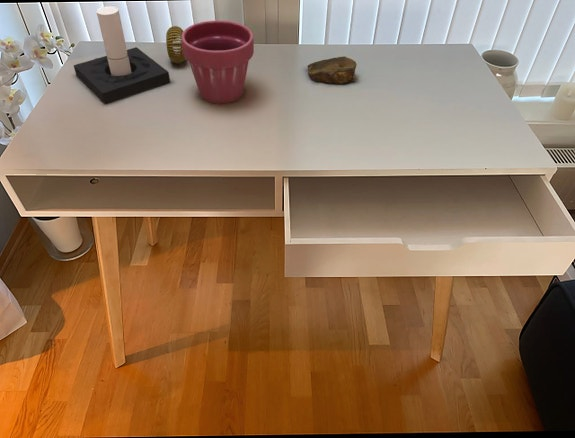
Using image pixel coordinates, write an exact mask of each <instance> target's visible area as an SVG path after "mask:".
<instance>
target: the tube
mask: <svg viewBox="0 0 575 438" xmlns="http://www.w3.org/2000/svg"><path fill="white" fill-rule="evenodd" d="M95 12H96V16H97V20H98V25H99V29H100V33H101V37H102V42H103V45H104V50H105V54H106V55H105V56H107V59H108V63H109V67H110V71H111V75H112V76H124V75H128V74H131V73H132V72H131V67H130V63H129V58H128V54H127V50H128V49H127V44H126V38H125V34H124V29H123V25H122V19H121V15H120V10H119V8H118V7H117V6H111V5H108V6H107V5H106V6H102V7H99V8H97V9H96V11H95Z"/></svg>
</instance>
